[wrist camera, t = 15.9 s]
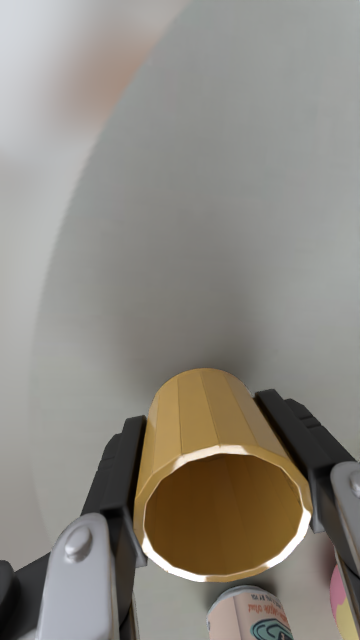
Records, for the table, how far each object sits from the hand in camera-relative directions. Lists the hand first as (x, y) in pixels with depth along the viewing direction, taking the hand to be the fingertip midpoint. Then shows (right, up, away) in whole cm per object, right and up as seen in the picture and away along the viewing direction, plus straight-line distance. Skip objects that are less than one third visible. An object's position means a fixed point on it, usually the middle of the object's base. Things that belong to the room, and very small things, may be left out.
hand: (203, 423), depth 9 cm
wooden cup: (0, 0, 0) cm, 0 cm away
